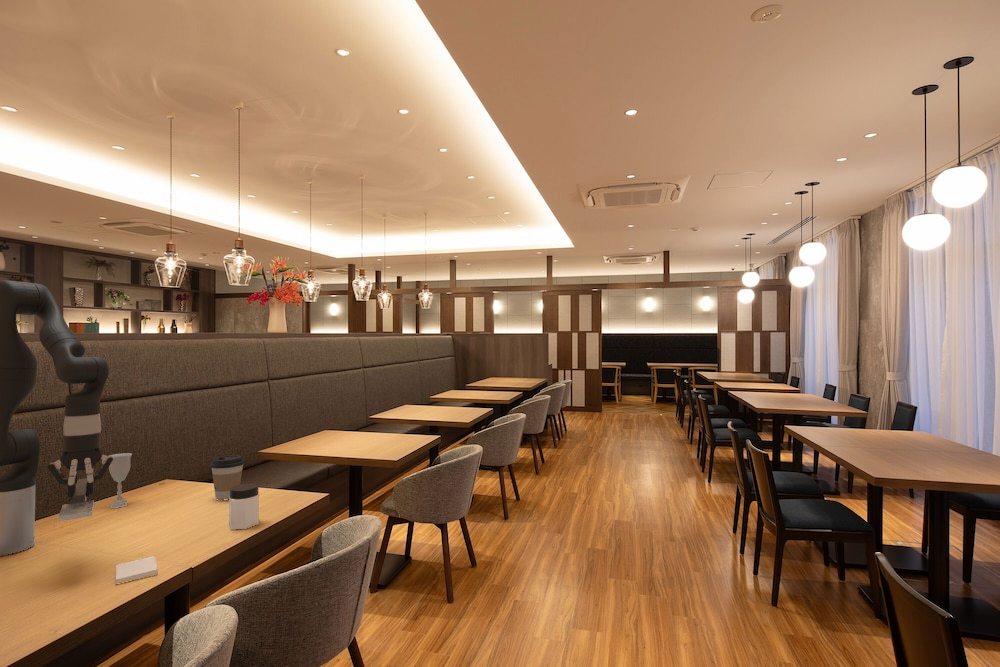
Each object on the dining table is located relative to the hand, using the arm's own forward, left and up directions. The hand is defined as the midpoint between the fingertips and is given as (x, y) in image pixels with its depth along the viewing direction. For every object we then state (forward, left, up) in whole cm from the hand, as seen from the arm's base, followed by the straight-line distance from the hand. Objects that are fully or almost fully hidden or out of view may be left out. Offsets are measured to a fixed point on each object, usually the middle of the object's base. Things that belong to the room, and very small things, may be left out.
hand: (80, 497), depth 126 cm
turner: (0, -3, -1) cm, 3 cm away
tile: (+12, -12, -16) cm, 23 cm away
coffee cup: (+39, +37, -17) cm, 56 cm away
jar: (+39, +2, -17) cm, 43 cm away
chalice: (+7, +51, -17) cm, 54 cm away
